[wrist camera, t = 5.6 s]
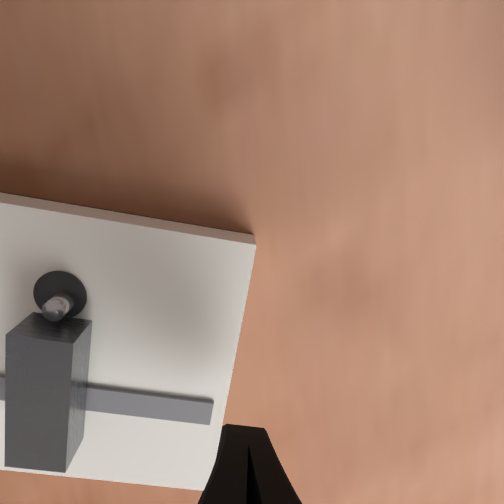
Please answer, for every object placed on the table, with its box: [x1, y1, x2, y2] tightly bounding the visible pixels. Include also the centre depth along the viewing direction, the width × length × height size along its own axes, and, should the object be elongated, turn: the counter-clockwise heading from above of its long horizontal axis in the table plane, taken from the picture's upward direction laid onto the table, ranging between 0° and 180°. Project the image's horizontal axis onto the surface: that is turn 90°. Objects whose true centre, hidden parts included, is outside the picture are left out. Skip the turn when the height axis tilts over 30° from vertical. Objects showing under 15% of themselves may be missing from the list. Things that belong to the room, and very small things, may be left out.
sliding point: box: [4, 292, 92, 473], centre depth 13 cm, size 2×6×2 cm, turn 170°
